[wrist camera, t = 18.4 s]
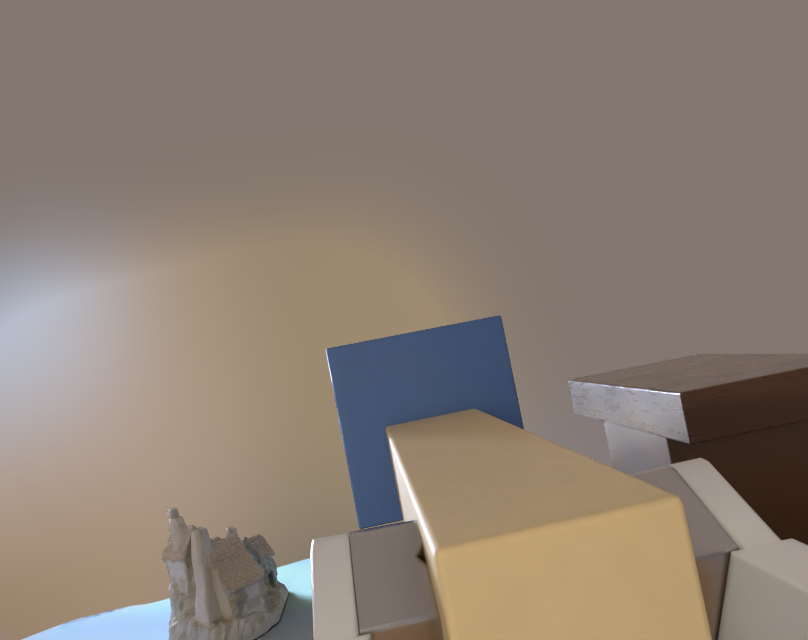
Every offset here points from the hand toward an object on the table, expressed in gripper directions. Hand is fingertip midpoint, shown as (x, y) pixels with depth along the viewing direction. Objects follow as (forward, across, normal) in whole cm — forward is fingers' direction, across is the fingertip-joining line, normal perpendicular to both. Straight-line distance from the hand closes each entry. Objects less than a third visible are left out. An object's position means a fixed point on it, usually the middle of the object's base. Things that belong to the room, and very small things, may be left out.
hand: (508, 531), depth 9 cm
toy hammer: (+4, 0, +4) cm, 6 cm away
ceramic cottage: (+50, +22, +58) cm, 80 cm away
